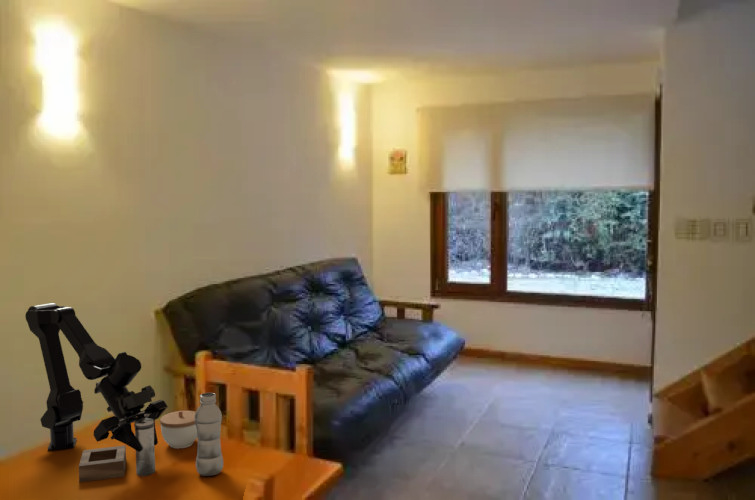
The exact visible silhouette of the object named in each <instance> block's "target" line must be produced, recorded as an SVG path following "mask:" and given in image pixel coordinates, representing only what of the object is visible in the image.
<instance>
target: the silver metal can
mask: <svg viewBox="0 0 755 500" xmlns="http://www.w3.org/2000/svg"><path fill="white" fill-rule="evenodd" d="M133 423H134V424H133V425H134V435H135V436H136V438H137V440H138V441H139V443H140V445H141V447H142V451H141V452H138V451H137V450H135V467H136V468H135V470H136V475H137V476H139V477H146V476H152V474H154V473H156V460H155V459H156V456H155V445H154V420H153V419H151V418H143V419H139V420H136V421H135V422H133Z"/></svg>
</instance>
